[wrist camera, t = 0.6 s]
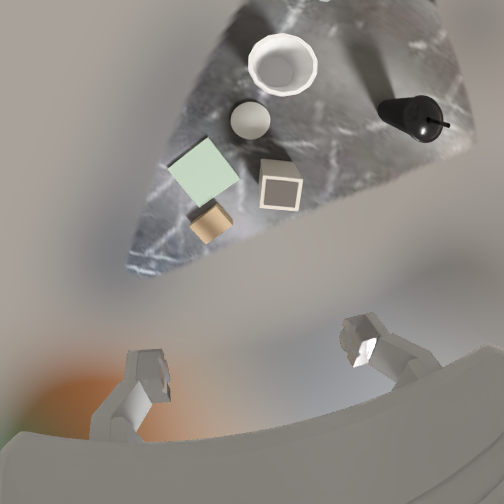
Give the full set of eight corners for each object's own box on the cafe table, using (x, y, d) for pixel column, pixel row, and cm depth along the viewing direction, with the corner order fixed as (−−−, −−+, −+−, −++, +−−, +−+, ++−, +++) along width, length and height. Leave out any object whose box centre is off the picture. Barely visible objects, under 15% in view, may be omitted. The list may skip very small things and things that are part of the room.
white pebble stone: (255, 94, 46) (255, 94, 45) (277, 125, 49) (277, 125, 48) (223, 116, 48) (222, 116, 47) (245, 145, 51) (245, 146, 50)
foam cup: (238, 74, 44) (233, 67, 33) (271, 39, 40) (277, 21, 29) (279, 106, 47) (288, 109, 36) (312, 71, 43) (331, 64, 32)
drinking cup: (407, 129, 48) (468, 151, 30) (373, 131, 49) (428, 153, 31) (402, 92, 44) (465, 99, 27) (368, 93, 45) (424, 97, 28)
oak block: (217, 201, 57) (215, 206, 55) (233, 219, 59) (232, 225, 57) (191, 221, 59) (189, 226, 57) (207, 238, 61) (205, 244, 59)
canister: (292, 161, 52) (303, 179, 42) (289, 187, 55) (298, 211, 44) (260, 158, 52) (262, 175, 42) (258, 184, 55) (259, 208, 44)
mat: (208, 136, 50) (207, 137, 49) (240, 178, 54) (240, 179, 54) (168, 168, 53) (167, 169, 52) (199, 206, 57) (199, 207, 56)
